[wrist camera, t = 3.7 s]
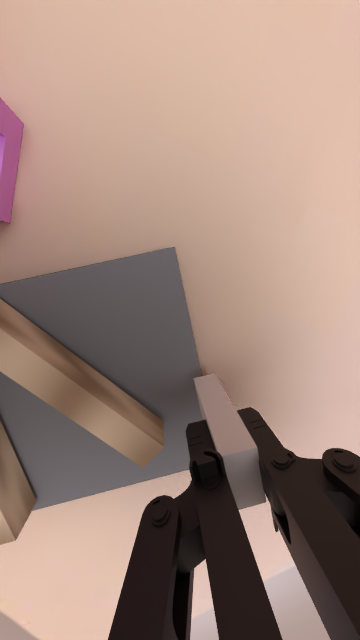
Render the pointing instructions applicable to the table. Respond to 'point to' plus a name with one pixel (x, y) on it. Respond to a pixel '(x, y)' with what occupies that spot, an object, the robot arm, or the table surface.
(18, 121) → the bracket
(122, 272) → the mat
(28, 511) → the tongs base
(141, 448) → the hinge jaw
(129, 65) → the table surface
